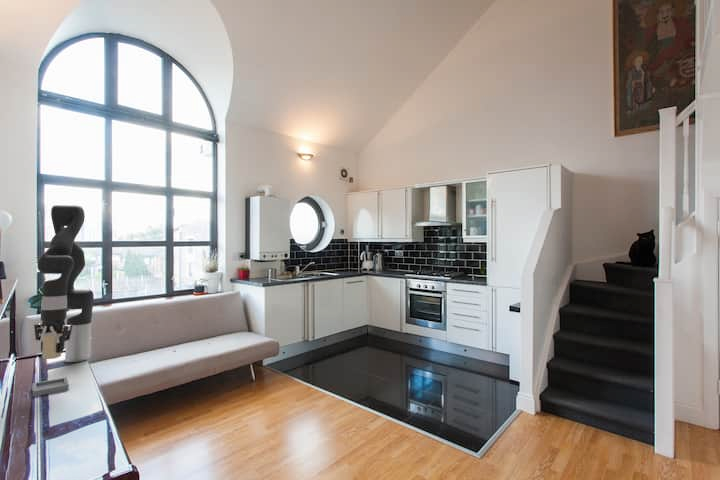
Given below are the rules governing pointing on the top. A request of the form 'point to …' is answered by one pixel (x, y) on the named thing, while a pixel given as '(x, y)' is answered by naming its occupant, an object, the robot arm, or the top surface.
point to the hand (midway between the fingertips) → (52, 351)
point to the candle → (50, 346)
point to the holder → (50, 386)
